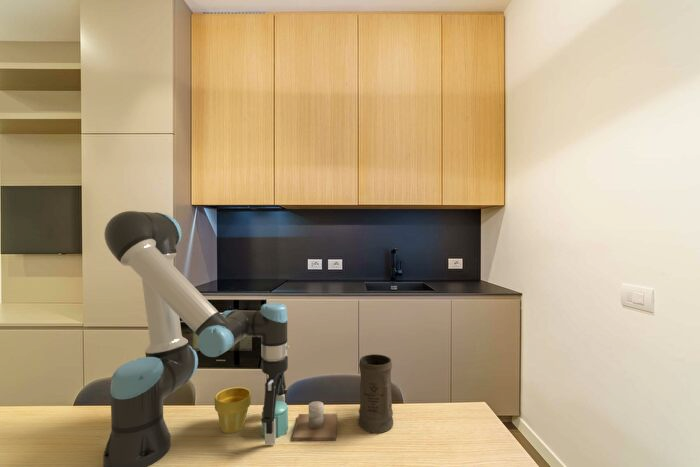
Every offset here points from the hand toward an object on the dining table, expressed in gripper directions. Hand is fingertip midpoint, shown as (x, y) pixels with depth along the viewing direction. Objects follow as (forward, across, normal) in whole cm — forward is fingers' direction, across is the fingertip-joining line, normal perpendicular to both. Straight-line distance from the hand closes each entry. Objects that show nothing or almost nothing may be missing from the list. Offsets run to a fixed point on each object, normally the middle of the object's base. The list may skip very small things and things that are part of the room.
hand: (275, 428), depth 100 cm
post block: (+1, +1, -12) cm, 12 cm away
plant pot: (+1, +2, +13) cm, 13 cm away
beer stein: (+1, +6, -30) cm, 31 cm away
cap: (0, 0, 0) cm, 1 cm away
